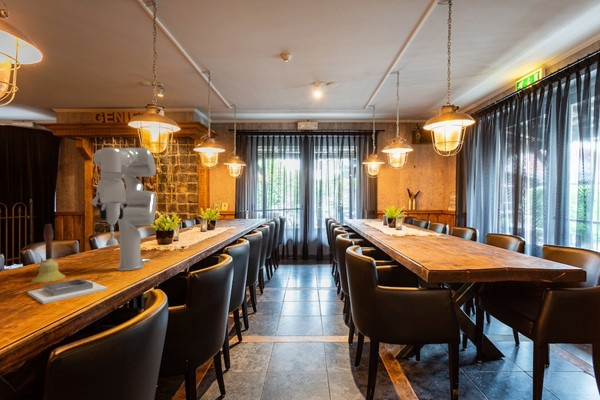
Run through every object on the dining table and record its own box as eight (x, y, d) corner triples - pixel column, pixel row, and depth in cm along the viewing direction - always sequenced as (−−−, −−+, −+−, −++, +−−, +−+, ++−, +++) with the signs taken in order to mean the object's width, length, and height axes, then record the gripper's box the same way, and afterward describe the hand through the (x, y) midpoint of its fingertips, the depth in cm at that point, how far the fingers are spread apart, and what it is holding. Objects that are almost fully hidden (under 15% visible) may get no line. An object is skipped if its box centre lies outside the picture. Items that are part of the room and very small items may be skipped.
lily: (47, 277, 148) (58, 258, 152) (19, 270, 145) (32, 250, 149) (54, 280, 158) (65, 262, 162) (28, 272, 155) (40, 254, 159)
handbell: (24, 283, 134) (24, 225, 134) (40, 277, 145) (39, 223, 145) (58, 281, 137) (57, 224, 137) (70, 274, 149) (70, 222, 149)
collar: (81, 283, 129) (80, 278, 129) (92, 288, 121) (92, 283, 121) (43, 290, 119) (43, 285, 119) (53, 296, 112) (53, 290, 112)
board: (88, 282, 134) (88, 280, 134) (107, 290, 122) (107, 287, 122) (27, 293, 118) (27, 291, 118) (43, 304, 106) (43, 301, 106)
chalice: (99, 245, 132) (98, 202, 132) (114, 243, 138) (114, 202, 138) (109, 246, 128) (108, 202, 128) (125, 244, 134) (124, 202, 134)
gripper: (128, 178, 142) (128, 218, 142) (84, 176, 128) (85, 220, 128) (136, 177, 138) (136, 218, 138) (91, 175, 124) (92, 221, 124)
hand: (111, 218), depth 133 cm, fingers closed on chalice, 5 cm apart
